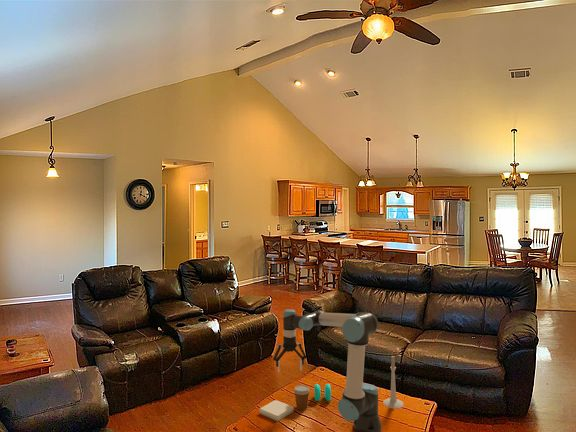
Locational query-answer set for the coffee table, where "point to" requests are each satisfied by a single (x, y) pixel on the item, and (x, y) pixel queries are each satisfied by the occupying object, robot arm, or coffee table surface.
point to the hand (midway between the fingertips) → (290, 371)
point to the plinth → (276, 410)
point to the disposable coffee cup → (301, 396)
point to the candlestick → (393, 390)
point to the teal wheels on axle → (318, 392)
